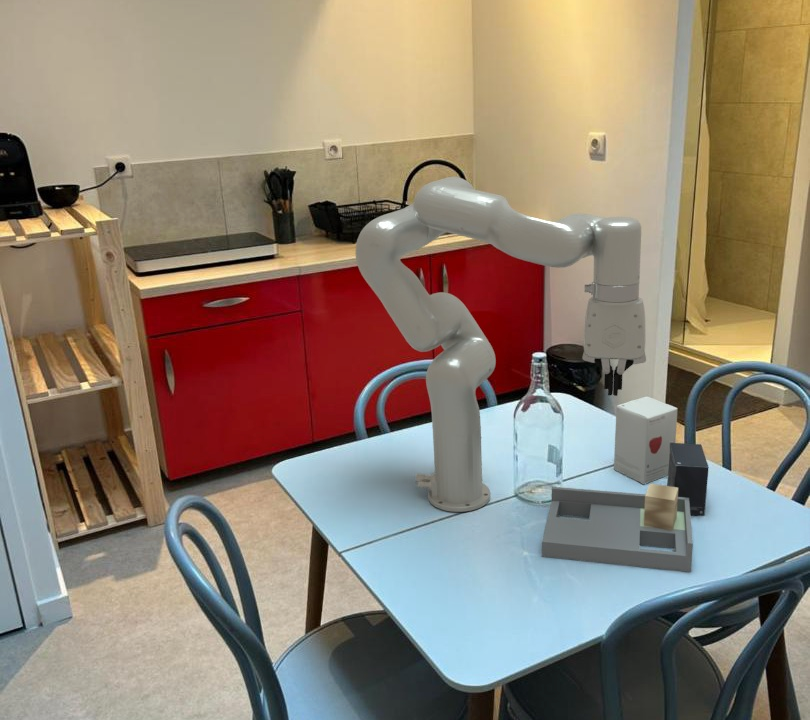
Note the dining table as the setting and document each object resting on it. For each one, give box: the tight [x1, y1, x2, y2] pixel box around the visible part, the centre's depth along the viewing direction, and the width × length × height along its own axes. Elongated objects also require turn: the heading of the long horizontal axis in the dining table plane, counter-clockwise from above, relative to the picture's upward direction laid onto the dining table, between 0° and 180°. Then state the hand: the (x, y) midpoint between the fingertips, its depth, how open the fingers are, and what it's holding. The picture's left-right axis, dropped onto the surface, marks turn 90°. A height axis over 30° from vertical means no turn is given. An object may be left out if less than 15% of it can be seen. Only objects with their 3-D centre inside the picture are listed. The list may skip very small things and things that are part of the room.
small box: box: [666, 442, 709, 516], centre depth 159 cm, size 11×6×10 cm, turn 168°
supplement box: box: [613, 395, 678, 485], centre depth 171 cm, size 9×9×15 cm
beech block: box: [644, 483, 678, 531], centre depth 148 cm, size 5×5×6 cm
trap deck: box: [541, 486, 694, 573], centre depth 148 cm, size 25×16×6 cm, turn 74°
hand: (613, 392), depth 145 cm, fingers closed
